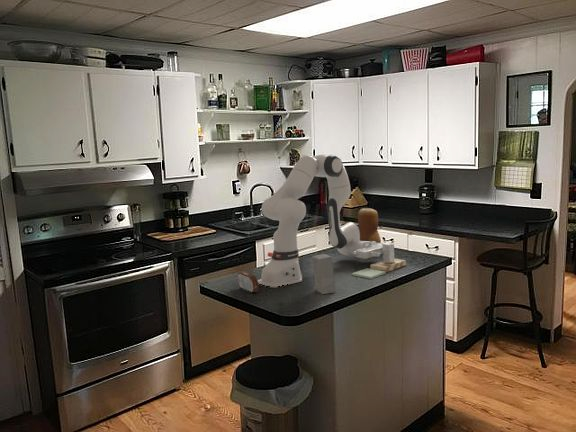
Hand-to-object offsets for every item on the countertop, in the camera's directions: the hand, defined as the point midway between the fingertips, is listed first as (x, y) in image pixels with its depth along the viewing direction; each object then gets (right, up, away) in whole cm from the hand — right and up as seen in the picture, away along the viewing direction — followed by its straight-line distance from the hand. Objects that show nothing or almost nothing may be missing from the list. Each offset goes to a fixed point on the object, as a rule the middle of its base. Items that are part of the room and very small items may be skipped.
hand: (385, 253), depth 246 cm
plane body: (+1, -7, -1) cm, 7 cm away
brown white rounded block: (-67, -15, -26) cm, 73 cm away
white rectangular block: (+2, -7, 0) cm, 7 cm away
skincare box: (-33, -14, -33) cm, 49 cm away
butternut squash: (-3, -2, +35) cm, 35 cm away
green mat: (-10, -9, -11) cm, 18 cm away
